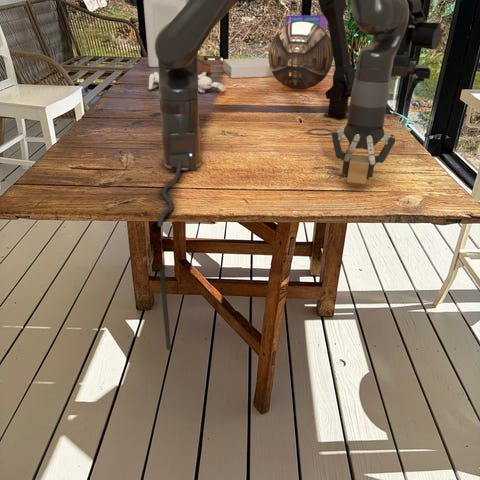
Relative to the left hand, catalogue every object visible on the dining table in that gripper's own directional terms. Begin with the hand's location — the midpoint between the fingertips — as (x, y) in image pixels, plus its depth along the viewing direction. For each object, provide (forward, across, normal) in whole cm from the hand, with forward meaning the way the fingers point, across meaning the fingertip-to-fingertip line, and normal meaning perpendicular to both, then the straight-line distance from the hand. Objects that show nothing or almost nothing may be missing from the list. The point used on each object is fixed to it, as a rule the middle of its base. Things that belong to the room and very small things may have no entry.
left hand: (356, 176), depth 108 cm
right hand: (-5, +8, +50) cm, 51 cm away
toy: (+4, -66, +77) cm, 101 cm away
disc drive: (+4, -48, +116) cm, 126 cm away
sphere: (+4, -24, +93) cm, 96 cm away
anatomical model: (+4, -70, +106) cm, 127 cm away
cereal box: (+4, -26, +122) cm, 124 cm away
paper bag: (+4, -90, +125) cm, 154 cm away
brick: (0, 0, 0) cm, 0 cm away
